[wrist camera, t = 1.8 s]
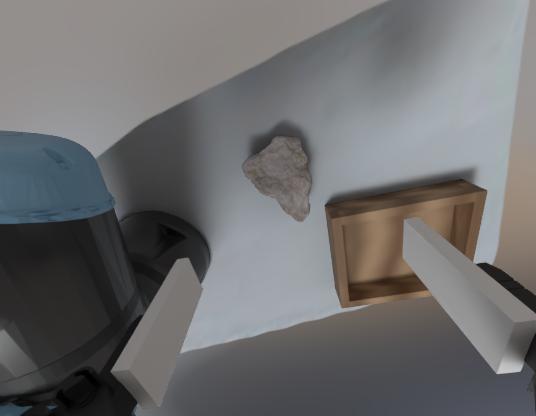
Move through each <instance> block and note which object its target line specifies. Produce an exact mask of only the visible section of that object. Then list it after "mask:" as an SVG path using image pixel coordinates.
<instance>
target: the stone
mask: <svg viewBox="0 0 536 416" xmlns="http://www.w3.org/2000/svg"><path fill="white" fill-rule="evenodd" d="M242 168H243V172H244V174H245V177H247V179H249V180H251V182H253V184H254V185H255V187H256V188H257V189H258V190H259V192H260V193H262V194H264V195H268V196H271V197H273V198H275V199H277V201H278V203H279V204H280V206H281V207H282V208H283V210H284V211H285V212H286V213H287V214H289V215H291V216H292V217H293V218H294V219H296V220H297V221H299V222H302V221H303V220H304V219H305V218H306V217H307V216H308V215H309V211H310V204H309V197H308V190H309V188H310V186H311V183H312V179H311V176H310V173H309V171H308V169H307V156H306V155H305V153H304V151H303V150H302V147H301V140H300V139H298V138H295V137H287V136H277V137H274V138H273V139H272V141H271V144H269V145H268V146H267V147H266V148H265V149H263V150H262V151H261V152H260V153H259V154H256V155H253V156H251V157H249V158H248V159H247V160H246V161H245V162H244V163H243V165H242Z"/></svg>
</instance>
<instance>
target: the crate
mask: <svg viewBox="0 0 536 416" xmlns="http://www.w3.org/2000/svg"><path fill="white" fill-rule="evenodd" d="M486 195H487V190H485V189H483V188H481V187H478V186H476V185H474V184H471V183H469V182H467V181H464V180H462V179H461V180H456V181H450V182H445V183H440V184H435V185H429V186H424V187H419V188H414V189H408V190H403V191H398V192H393V193H387V194H382V195H377V196H372V197H366V198H361V199H356V200H351V201H345V202H340V203H335V204H330V205H325V211H326V219H327V227H328V234H329V242H330V250H331V258H332V266H333V273H334V281H335V289H336V292H337V295H338V298H339V301H340V304H341V307H342V308H348V307H355V306H362V305H369V304H376V303H383V302H390V301H397V300H405V299H412V298H419V297H426V296H433V295H432V293H431V292H430V291H429V290H428V288H427V287H426V286H425V285H424V283H423V282H422V281H421V280H420V279H419V277H418V276H417V275H416V274H415V272H414V271H413V270H412V269H411V267H410V266H409V265H408V264H407V263H406V261H405V260H404V259H403V258H402V257H403V230H404V219H409V218H415V217H419V218H420V219H421V220H422V221H424V222H425V223H426V224H427V225H428V226H430V227H431V228H432V229H433V230H434V231H436V232H437V233H438V234H439V235H441V236H442V237H443V238H444V239H445V240H447V241H448V242H449V243H450V244H452V245H453V246H454V247H455V248H456V249H458V250H459V251H460V252H461V253H462V254H464V255H465V256H466V257H467V258H469V259H470V260H471V261H472V262H473V259H474V254H475V249H476V244H477V239H478V234H479V230H480V225H481V220H482V215H483V210H484V205H485V200H486Z"/></svg>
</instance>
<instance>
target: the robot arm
mask: <svg viewBox="0 0 536 416" xmlns="http://www.w3.org/2000/svg"><path fill="white" fill-rule="evenodd" d="M114 205H115V200H114V197H113V196H112V195H111V194H110V193H109V192H108V189H107V187H106V184H105V182H104V179H103V177H102V174H101V172H100V169H99V167H98V164H97V162H96V160H95V158H94V157H93V155H92V154H91V153H90V152H89V151H88V150H87V149H86V148H84V147H83V146H81V145H80V144H78V143H76V142H73V141H71V140H69V139H65V138H61V137H57V136H52V135H44V134H37V133H25V132H14V131H0V416H136V415H135V414H134V413H135V411H136V409H137V407H136V405H137V403H138V404H139V405H140V406H141V407H142V408H143V409H150V408H159V407H160V406H161V403H162V400H163V398H164V395H165V392H166V389H167V387H168V384H169V381H170V378H171V376H172V373H173V370H174V367H175V364H176V362H177V359H178V356H179V354H180V351H181V348H182V345H183V343H184V340H185V337H186V334H187V332H188V329H189V326H190V323H191V321H192V318H193V315H194V312H195V310H196V307H197V304H198V301H199V299H200V296H201V293H202V290H203V288H202V286H201V283H202V282H203V280H204V278H205V275H206V273H207V270H208V267H209V263H210V255H209V250H208V247H207V245H206V243H205V241H204V239H203V238H202V236H201V235H200V234H199V233H198V232H197V231H196V230H195V229H194V228H193V227H192V226H191V225H190V224H188V223H187V222H185V221H183V220H182V219H180V218H178V217H175V216H173V215H170V214H166V213H162V212H153V211H148V212H140V213H136V214H133V215H131V216H129V217H127V218H125V219H124V220H123V221H121V222H120V223H119V222H118V219H117V216H116V213H115V210H114ZM402 258H403V259H404V260H405V261H406V263H407V264H408V265H409V266H410V267H411V269H412V270H413V271H414V272H415V274H416V275H417V276H418V277H419V279H420V280H421V281H422V282H423V283H424V285H425V286H426V287H427V288H428V290H429V291H430V292H431V293H432V295H433V296H434V297H435V298H436V300H437V301H438V302H439V303H440V304H441V306H442V307H443V308H444V309H445V311H446V312H447V313H448V314H449V316H450V317H451V318H452V319H453V320H454V322H455V323H456V324H457V325H458V327H459V328H460V329H461V330H462V331H463V333H464V334H465V335H466V336H467V338H468V339H469V340H470V341H471V343H472V344H473V345H474V346H475V347H476V349H477V350H478V351H479V352H480V354H481V355H482V356H483V357H484V359H485V360H486V361H487V362H488V364H489V365H490V366H491V367H492V369H493V370H494V371H495V372H496V373H497V374H500V373H511V372H520V371H521V369H522V366H523V364H524V362H526V363H527V364H528V365H529V366H530V367H531V368H532V369H533V370H534V371H535V373H534V375H533V377H532V379H531V381H530V383H529V386H528V389H527V390H529V391H530V392H532V391H533V389H534V397H535V411H536V296H535V295H534V294H533V293H531V292H530V291H529V290H527V289H525V288H524V287H523V286H522V285H521V284H520V283H518V282H517V281H514V280H513V278H511V277H510V276H509V275H508V274H506V273H505V272H503V271H502V270H501V269H498V268H496V267H494V266H492V265H490V264H488V263H486V262H485V263H479V264H475V263H473V262H472V261H471V260H470V259H469V258H467V257H466V256H465V255H464V254H462V253H461V252H460V251H459V250H458V249H456V248H455V247H454V246H453V245H452V244H450V243H449V242H448V241H447V240H445V239H444V238H443V237H442V236H441V235H439V234H438V233H437V232H436V231H434V230H433V229H432V228H431V227H430V226H428V225H427V224H426V223H425V222H424V221H422V220H421V219H420V218H419V217H415V218H409V219H404V230H403V257H402Z"/></svg>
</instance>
